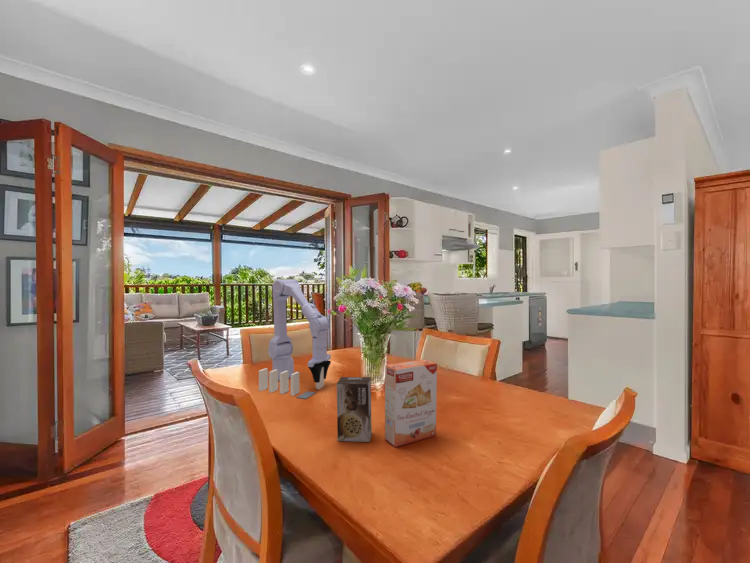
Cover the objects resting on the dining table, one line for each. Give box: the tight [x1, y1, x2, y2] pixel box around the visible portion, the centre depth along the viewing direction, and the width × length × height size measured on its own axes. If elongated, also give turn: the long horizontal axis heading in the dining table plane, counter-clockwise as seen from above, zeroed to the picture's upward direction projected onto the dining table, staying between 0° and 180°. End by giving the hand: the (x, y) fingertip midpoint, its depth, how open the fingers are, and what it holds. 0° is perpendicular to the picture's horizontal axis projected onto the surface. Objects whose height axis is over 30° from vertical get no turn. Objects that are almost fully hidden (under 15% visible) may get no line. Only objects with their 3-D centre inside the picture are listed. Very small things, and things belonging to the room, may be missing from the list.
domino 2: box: [268, 369, 279, 394], centre depth 138 cm, size 4×1×8 cm, turn 158°
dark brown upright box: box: [335, 376, 373, 443], centre depth 99 cm, size 9×6×16 cm
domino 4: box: [290, 371, 300, 397], centre depth 135 cm, size 4×1×8 cm, turn 158°
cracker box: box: [384, 358, 438, 448], centre depth 98 cm, size 14×6×21 cm, turn 120°
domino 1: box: [258, 367, 269, 392], centre depth 140 cm, size 4×1×8 cm, turn 158°
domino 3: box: [279, 371, 290, 395], centre depth 136 cm, size 4×1×8 cm, turn 158°
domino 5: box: [315, 367, 325, 390], centre depth 142 cm, size 4×1×8 cm, turn 158°
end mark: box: [296, 390, 317, 400], centre depth 133 cm, size 7×4×1 cm, turn 158°
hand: (319, 380), depth 142 cm, fingers open, 4 cm apart
